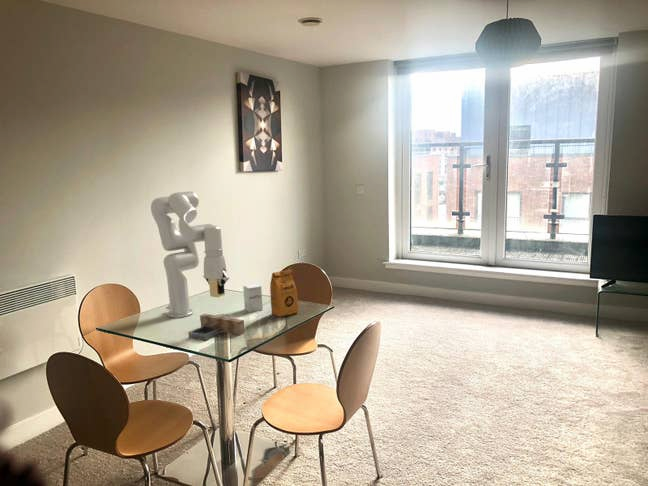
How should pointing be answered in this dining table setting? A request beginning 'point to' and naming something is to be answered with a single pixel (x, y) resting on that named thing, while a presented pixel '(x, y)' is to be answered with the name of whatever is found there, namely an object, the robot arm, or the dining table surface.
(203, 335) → the grey square tray
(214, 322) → the brown plank
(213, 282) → the block
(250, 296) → the supplement box
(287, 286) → the coffee package
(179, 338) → the dining table surface
